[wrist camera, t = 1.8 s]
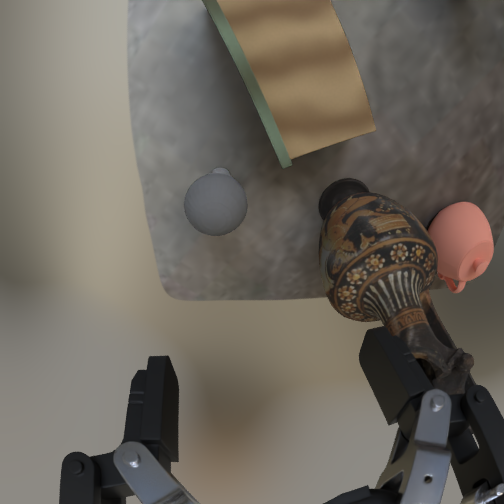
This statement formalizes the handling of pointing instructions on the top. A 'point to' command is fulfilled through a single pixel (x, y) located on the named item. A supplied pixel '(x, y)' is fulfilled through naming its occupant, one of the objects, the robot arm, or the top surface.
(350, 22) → the top surface
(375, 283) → the vase
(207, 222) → the light bulb
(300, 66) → the wooden step stool
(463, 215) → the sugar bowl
